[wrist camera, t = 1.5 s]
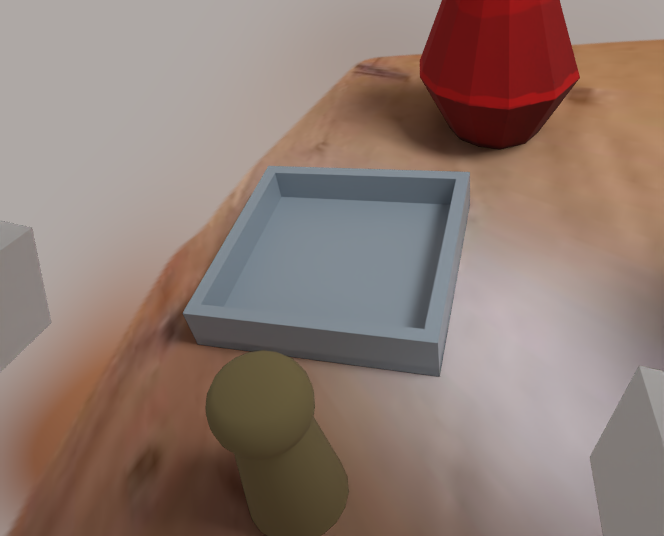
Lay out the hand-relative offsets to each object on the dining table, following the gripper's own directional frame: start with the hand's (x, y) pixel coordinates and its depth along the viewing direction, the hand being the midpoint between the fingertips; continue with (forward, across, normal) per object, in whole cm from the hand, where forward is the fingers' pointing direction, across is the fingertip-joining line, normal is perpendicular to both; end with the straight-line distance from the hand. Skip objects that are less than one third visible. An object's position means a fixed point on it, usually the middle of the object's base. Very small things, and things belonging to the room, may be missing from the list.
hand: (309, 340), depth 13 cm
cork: (+12, -2, -22) cm, 25 cm away
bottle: (+50, +7, -11) cm, 52 cm away
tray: (+29, -4, -18) cm, 35 cm away
